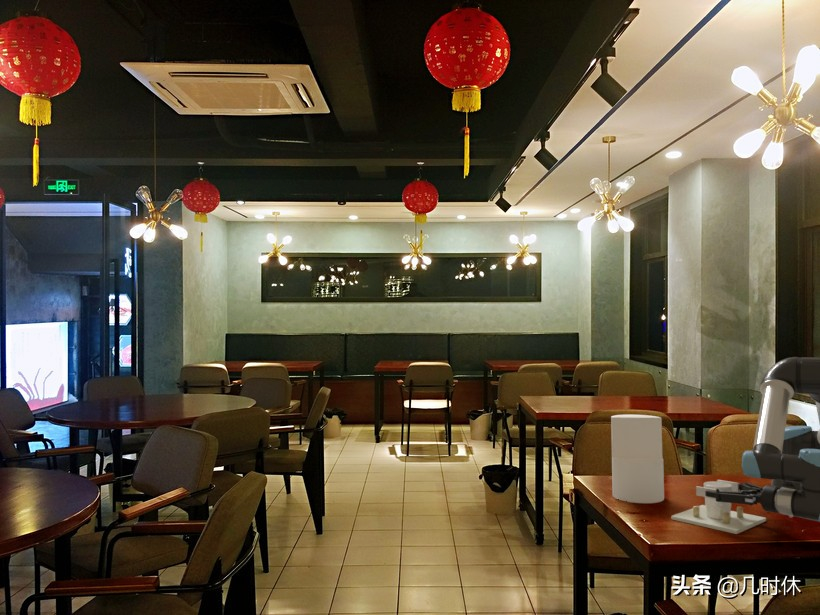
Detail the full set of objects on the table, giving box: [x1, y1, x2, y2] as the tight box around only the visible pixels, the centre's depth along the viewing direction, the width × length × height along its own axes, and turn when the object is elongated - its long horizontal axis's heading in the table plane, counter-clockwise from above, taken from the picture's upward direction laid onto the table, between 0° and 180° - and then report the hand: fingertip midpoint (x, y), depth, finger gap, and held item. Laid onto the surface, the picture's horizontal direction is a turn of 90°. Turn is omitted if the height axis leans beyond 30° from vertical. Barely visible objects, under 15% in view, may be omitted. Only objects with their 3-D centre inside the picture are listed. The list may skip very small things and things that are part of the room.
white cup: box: [703, 480, 733, 520], centre depth 204 cm, size 8×8×10 cm
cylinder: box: [610, 414, 665, 504], centre depth 233 cm, size 17×17×28 cm
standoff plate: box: [670, 504, 767, 535], centre depth 204 cm, size 20×20×4 cm
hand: (707, 487), depth 206 cm, fingers open, 13 cm apart
